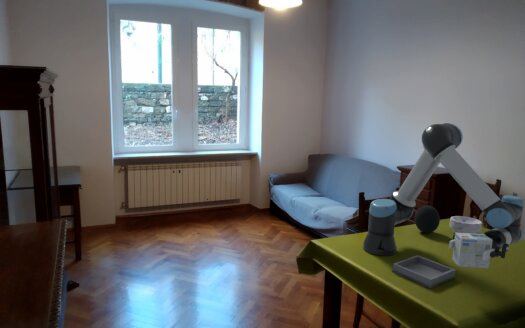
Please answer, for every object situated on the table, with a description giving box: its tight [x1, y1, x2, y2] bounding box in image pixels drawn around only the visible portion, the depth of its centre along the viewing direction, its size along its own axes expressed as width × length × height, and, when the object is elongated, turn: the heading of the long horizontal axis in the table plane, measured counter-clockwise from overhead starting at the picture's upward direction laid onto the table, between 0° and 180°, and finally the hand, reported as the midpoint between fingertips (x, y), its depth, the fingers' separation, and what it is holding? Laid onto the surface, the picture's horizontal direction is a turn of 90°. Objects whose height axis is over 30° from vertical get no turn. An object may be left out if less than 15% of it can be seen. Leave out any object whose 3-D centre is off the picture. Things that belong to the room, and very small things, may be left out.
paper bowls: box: [449, 215, 483, 234], centre depth 209 cm, size 15×15×8 cm
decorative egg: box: [414, 204, 441, 234], centre depth 208 cm, size 12×12×15 cm
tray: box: [392, 254, 456, 289], centre depth 158 cm, size 17×17×4 cm
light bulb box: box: [451, 232, 493, 269], centre depth 140 cm, size 11×7×11 cm, turn 84°
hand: (466, 250), depth 138 cm, fingers closed on light bulb box, 11 cm apart
